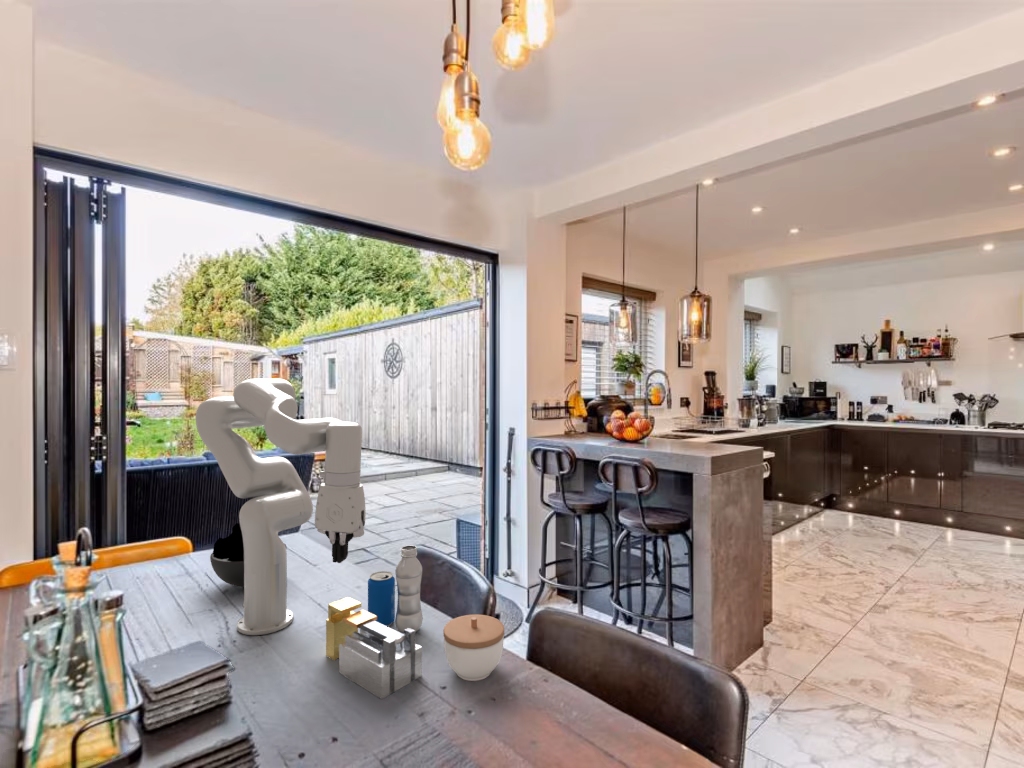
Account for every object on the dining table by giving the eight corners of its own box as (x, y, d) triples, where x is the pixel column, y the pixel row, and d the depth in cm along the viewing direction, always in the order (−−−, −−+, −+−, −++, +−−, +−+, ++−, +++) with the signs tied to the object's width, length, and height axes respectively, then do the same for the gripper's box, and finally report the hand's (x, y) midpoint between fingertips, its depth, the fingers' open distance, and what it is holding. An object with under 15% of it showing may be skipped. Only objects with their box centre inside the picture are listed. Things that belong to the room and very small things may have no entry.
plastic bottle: (427, 626, 128) (427, 545, 128) (413, 639, 122) (413, 553, 122) (404, 622, 131) (404, 542, 130) (389, 634, 124) (389, 550, 124)
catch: (326, 655, 115) (326, 604, 114) (349, 645, 119) (350, 596, 119) (339, 663, 111) (339, 611, 111) (363, 652, 116) (363, 602, 116)
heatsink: (339, 672, 108) (339, 624, 108) (379, 653, 116) (379, 608, 116) (381, 699, 99) (381, 646, 99) (421, 675, 107) (422, 627, 107)
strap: (410, 638, 105) (410, 631, 105) (390, 648, 101) (390, 641, 101) (362, 615, 115) (362, 609, 115) (342, 624, 111) (342, 617, 111)
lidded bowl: (480, 696, 100) (481, 639, 100) (430, 676, 107) (430, 622, 107) (515, 666, 111) (515, 614, 111) (467, 649, 118) (467, 600, 118)
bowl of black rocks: (210, 604, 140) (210, 534, 140) (209, 579, 158) (209, 516, 157) (291, 589, 150) (291, 524, 150) (282, 567, 168) (282, 508, 167)
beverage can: (387, 631, 126) (388, 581, 126) (363, 628, 127) (363, 579, 127) (398, 619, 132) (399, 571, 132) (375, 616, 134) (375, 569, 133)
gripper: (301, 478, 113) (299, 562, 114) (366, 485, 110) (362, 571, 111) (321, 472, 121) (318, 551, 121) (381, 477, 118) (378, 558, 118)
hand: (339, 560), depth 116 cm, fingers closed
